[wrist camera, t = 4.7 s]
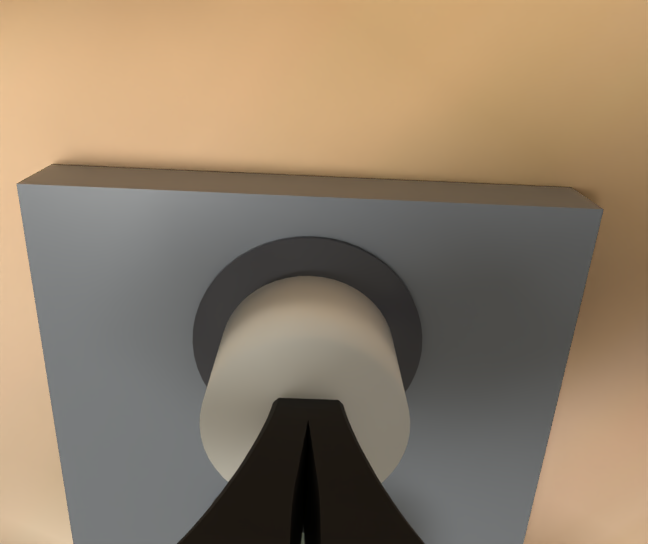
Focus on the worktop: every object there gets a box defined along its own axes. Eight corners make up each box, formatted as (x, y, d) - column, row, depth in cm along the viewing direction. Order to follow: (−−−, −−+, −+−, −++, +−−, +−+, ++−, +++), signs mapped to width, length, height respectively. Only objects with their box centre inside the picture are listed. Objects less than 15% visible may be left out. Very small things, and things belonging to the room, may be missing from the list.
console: (571, 187, 16) (607, 211, 14) (460, 701, 25) (473, 762, 23) (51, 164, 16) (12, 186, 14) (121, 694, 25) (104, 755, 22)
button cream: (401, 279, 14) (421, 341, 12) (385, 427, 16) (399, 512, 13) (219, 272, 14) (196, 332, 12) (222, 422, 16) (202, 506, 13)
